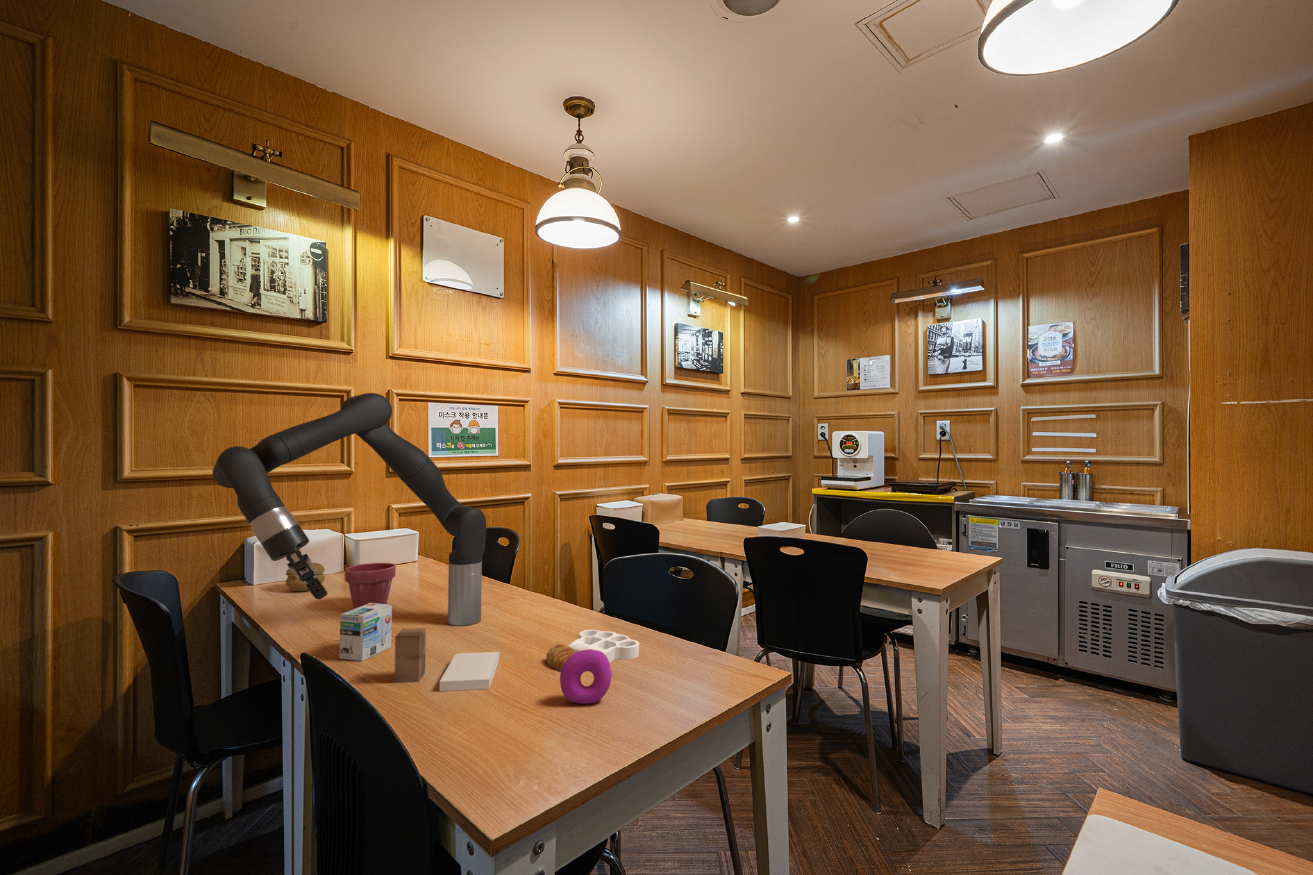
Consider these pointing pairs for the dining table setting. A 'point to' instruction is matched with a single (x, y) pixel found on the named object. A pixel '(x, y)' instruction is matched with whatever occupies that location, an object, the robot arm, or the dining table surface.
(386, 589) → the plant pot
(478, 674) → the plastic platform
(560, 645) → the pastry
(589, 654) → the donut
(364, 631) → the light bulb box
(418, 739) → the dining table surface
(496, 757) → the dining table surface
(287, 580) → the pot
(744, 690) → the dining table surface
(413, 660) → the walnut block
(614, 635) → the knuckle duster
